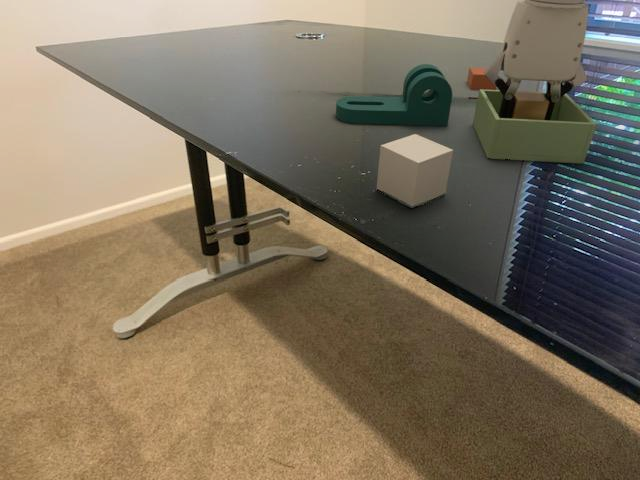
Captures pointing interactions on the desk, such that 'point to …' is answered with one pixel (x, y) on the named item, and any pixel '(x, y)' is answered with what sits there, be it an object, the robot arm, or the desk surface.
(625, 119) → the desk surface
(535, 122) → the basket
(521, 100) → the maple block
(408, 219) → the desk surface
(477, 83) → the terracotta block
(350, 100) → the bracket
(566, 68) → the robot arm
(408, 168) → the white cube
